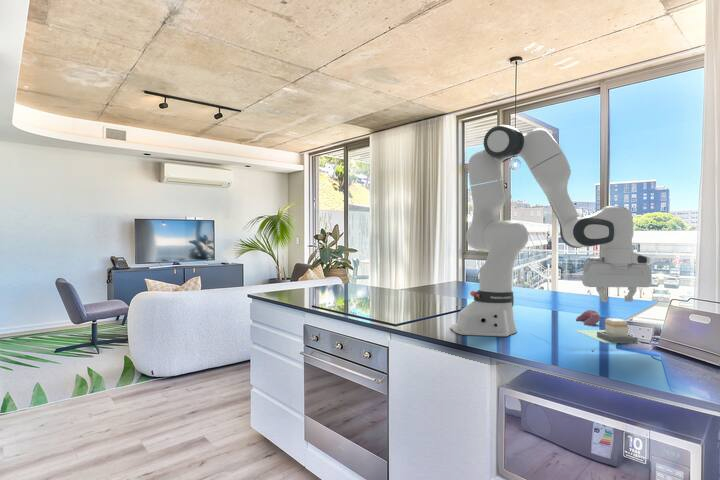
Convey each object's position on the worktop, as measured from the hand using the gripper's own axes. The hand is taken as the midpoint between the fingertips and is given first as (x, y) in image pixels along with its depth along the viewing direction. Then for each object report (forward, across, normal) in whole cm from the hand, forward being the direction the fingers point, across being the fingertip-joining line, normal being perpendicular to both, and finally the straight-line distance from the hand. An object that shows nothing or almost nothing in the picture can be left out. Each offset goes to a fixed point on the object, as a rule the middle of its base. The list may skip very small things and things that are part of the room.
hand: (616, 301), depth 128 cm
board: (+13, -1, +4) cm, 13 cm away
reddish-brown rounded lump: (+13, +6, +26) cm, 29 cm away
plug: (+12, 0, 0) cm, 12 cm away
